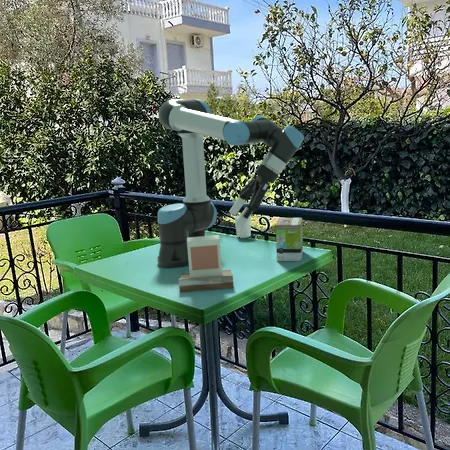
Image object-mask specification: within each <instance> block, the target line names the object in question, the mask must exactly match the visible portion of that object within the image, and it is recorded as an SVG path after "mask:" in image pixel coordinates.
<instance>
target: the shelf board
mask: <svg viewBox="0 0 450 450" xmlns="http://www.w3.org/2000/svg"><path fill="white" fill-rule="evenodd" d="M178 286H179V287H178V288H179V289H178V290H179V292H180V293H185V292H196V291H197V292H198V291H209V290H210V291H211V290H223V289H234V275H233V273H232V269H222V275H218V276H205V277H192V278H190V272H183V273H181V275H180V278H178Z"/></svg>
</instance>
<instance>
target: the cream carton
mask: <svg viewBox="0 0 450 450" xmlns="http://www.w3.org/2000/svg"><path fill="white" fill-rule="evenodd" d="M187 248H188V260H189V265H188V267H189V268H188V272H189V273H190V278H192V277H205V276H218V275H222V270H223V266H222V265H223V264H222V253H221V250H222V249H221V240H220V235H219V234H218V235H217V234H216V235H215V234H214V235H205V236H201V237H189V238H187Z"/></svg>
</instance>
